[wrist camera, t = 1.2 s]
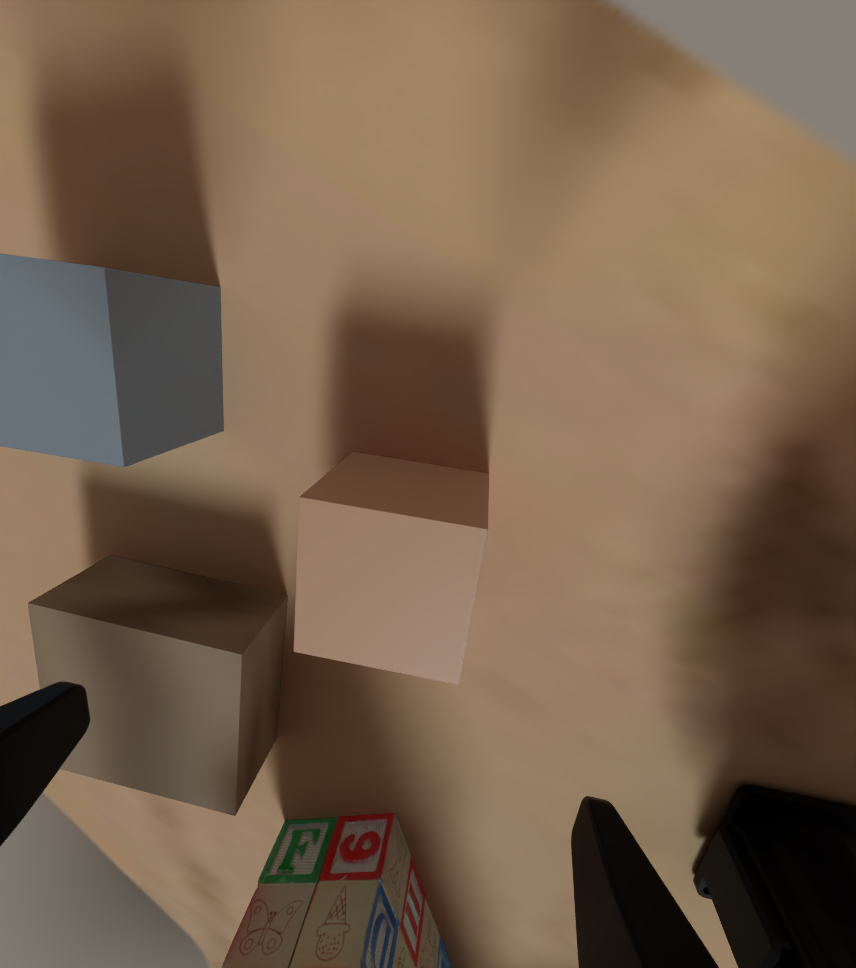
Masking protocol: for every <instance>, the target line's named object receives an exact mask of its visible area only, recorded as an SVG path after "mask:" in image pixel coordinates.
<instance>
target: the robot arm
mask: <svg viewBox="0 0 856 968" xmlns="http://www.w3.org/2000/svg"><path fill="white" fill-rule="evenodd" d="M89 724H90V712H89V706H88V700H87V693H86V689H85V688H84V687H83V686H82V685H80V684H75V683H71V682H65V681H61V682H57V683H54V684H52V685H49V686H47V687H45V688H42V689H40V690H38V691H35V692H33V693H31V694H28V695H26V696H24V697H21V698H19V699H17V700H14V701H12V702H9V703H7V704H5V705H2V706H0V846H1V845H2V843H3V842H4V841H5V840H6V839H7V838H8V836H9V835H10V834H11V833H12V831H13V830H14V829H15V828H16V827H17V825H18V824H19V823H20V822H21V820H22V819H23V818H24V816H25V815H26V814H27V812H28V811H29V810H30V808H31V807H32V806H33V804H34V803H35V802H36V800H37V799H38V798H39V796H40V795H41V793H42V792H43V791H44V789H45V788H46V787H47V785H48V784H49V782H50V781H51V780H52V778H53V777H54V776H55V774H56V773H57V772H58V770H59V769H60V767H61V766H62V765H63V763H64V762H65V761H66V759H67V758H68V756H69V755H70V754H71V752H72V751H73V750H74V748H75V747H76V745H77V744H78V743H79V741H80V740H81V739H82V737H83V736H84V734H85V733H86V731H87V729H88V727H89ZM571 850H572V867H573V883H574V900H575V916H576V932H577V948H578V961H579V968H719V967H718V965H717V964H716V962H715V961H714V959H713V958H712V956H711V955H710V953H709V952H708V950H707V948H706V947H705V945H704V944H703V942H702V941H701V939H700V938H699V936H698V935H697V933H696V932H695V930H694V929H693V927H692V926H691V924H690V922H689V921H688V919H687V918H686V916H685V915H684V913H683V912H682V910H681V909H680V907H679V906H678V904H677V903H676V901H675V899H674V898H673V896H672V895H671V893H670V892H669V890H668V889H667V887H666V886H665V884H664V883H663V881H662V880H661V878H660V877H659V875H658V873H657V872H656V870H655V869H654V867H653V866H652V864H651V863H650V861H649V860H648V858H647V857H646V855H645V854H644V852H643V850H642V849H641V847H640V846H639V844H638V843H637V841H636V840H635V838H634V837H633V835H632V834H631V832H630V831H629V829H628V828H627V826H626V824H625V823H624V821H623V820H622V818H621V817H620V815H619V814H618V812H617V811H616V809H615V808H614V806H613V805H612V804H611V803H610V802H609V801H607V800H603V799H599V798H594V797H590V796H586V797H584V798H583V800H582V802H581V805H580V808H579V811H578V814H577V817H576V820H575V823H574V826H573V829H572V836H571ZM693 881H694V884H695V887H696V890H697V892H698V894H699V895H700V896H702V897H705V898H708V899H712V901H713V903H714V906H715V909H716V911H717V914H718V916H719V919H720V921H721V924H722V927H723V929H724V932H725V934H726V937H727V940H728V942H729V945H730V947H731V950H732V953H733V955H734V958H735V960H736V963H737V965H738V968H856V807H855V806H851V805H846V804H841V803H836V802H831V801H827V800H822V799H817V798H812V797H808V796H803V795H798V794H793V793H788V792H784V791H779V790H774V789H769V788H765V787H760V786H755V785H744V786H741V787H740V788H738V789H737V791H736V792H735V794H734V796H733V798H732V800H731V802H730V804H729V807H728V809H727V811H726V813H725V815H724V817H723V819H722V821H721V823H720V825H719V827H718V829H717V831H716V833H715V835H714V837H713V839H712V841H711V843H710V845H709V848H708V850H707V852H706V854H705V856H704V858H703V860H702V862H701V864H700V866H699V868H698V870H697V872H696V874H695V876H694V879H693Z"/></svg>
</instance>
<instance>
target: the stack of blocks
mask: <svg viewBox="0 0 856 968" xmlns="http://www.w3.org/2000/svg"><path fill="white" fill-rule="evenodd" d="M222 968H452V965H451V962H450V960H449V957H448V955H447V952H446V950H445V947H444V944H443V942H442V939H441V937H440V936H439V933H438V929H437V927H436V924H435V922H434V919H433V916H432V914H431V911H430V909H429V906H428V904H427V901H426V895H425V892H424V890H423V887H422V884H421V882H420V879H419V876H418V874H417V871H416V868H415V866H414V863H413V860H412V858H411V856H410V851H409V848H408V846H407V843H406V840H405V838H404V835H403V832H402V830H401V827H400V824H399V822H398V819H397V816H396V815H395V814H394V813H388V814H372V815H358V816H341V817H338V818H322V819H305V820H287V821H285V822H284V824H283V826H282V829H281V831H280V833H279V835H278V837H277V840H276V842H275V844H274V846H273V848H272V850H271V853H270V855H269V857H268V859H267V862H266V864H265V866H264V869H263V871H262V873H261V875H260V877H259V880H258V887H257V889H256V891H255V893H254V895H253V897H252V899H251V902H250V904H249V906H248V908H247V910H246V913H245V915H244V917H243V919H242V922H241V924H240V926H239V928H238V931H237V933H236V935H235V937H234V939H233V941H232V944H231V946H230V949H229V951H228V954H227V956H226V958H225V961H224V963H223V966H222Z"/></svg>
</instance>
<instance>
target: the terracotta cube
mask: <svg viewBox="0 0 856 968" xmlns="http://www.w3.org/2000/svg"><path fill="white" fill-rule="evenodd" d="M488 497H489V473H483V472H477V471H471V470H465V469H459V468H452V467H446V466H440V465H434V464H428V463H421V462H415V461H409V460H403V459H397V458H390V457H384V456H378V455H372V454H366V453H359V452H352V453H351V454H349V455H348V456H347V457H346V458H345V459H344V460H342V461H341V462H340V463H339V464H338V465H336V466H335V467H334V468H333V469H332V470H331V471H329V472H328V473H327V474H326V475H325V476H324V477H322V478H321V479H320V480H319V481H318V482H316V483H315V484H314V485H313V486H312V487H311V488H309V489H308V490H307V491H306V492H305V493H304V494H302V495H301V496H300V497H299V518H298V546H297V574H296V602H295V630H294V652H298V653H303V654H307V655H312V656H317V657H322V658H327V659H332V660H337V661H342V662H347V663H352V664H357V665H362V666H367V667H372V668H377V669H382V670H387V671H392V672H397V673H402V674H407V675H412V676H417V677H422V678H427V679H432V680H436V681H441V682H446V683H451V684H456V685H459V681H460V675H461V670H462V665H463V659H464V654H465V649H466V643H467V638H468V633H469V627H470V622H471V617H472V611H473V606H474V601H475V595H476V590H477V585H478V579H479V574H480V569H481V563H482V558H483V553H484V547H485V542H486V537H487V531H488Z"/></svg>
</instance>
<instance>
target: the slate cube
mask: <svg viewBox="0 0 856 968" xmlns="http://www.w3.org/2000/svg"><path fill="white" fill-rule="evenodd" d="M222 431H224V421H223V378H222V334H221V291H220V287H217V286H211V285H205V284H199V283H193V282H188V281H182V280H176V279H170V278H164V277H158V276H152V275H147V274H141V273H135V272H129V271H123V270H117V269H111V268H106V267H98V266H91V265H83V264H76V263H68V262H60V261H53V260H45V259H37V258H30V257H22V256H15V255H7V254H0V446H3V447H9V448H15V449H21V450H26V451H32V452H38V453H44V454H50V455H56V456H62V457H67V458H73V459H79V460H85V461H91V462H97V463H103V464H108V465H114V466H120V467H126V466H129V465H131V464H134V463H137V462H140V461H142V460H145V459H148V458H151V457H153V456H156V455H159V454H161V453H164V452H167V451H170V450H172V449H175V448H178V447H181V446H183V445H186V444H189V443H192V442H194V441H197V440H200V439H203V438H205V437H208V436H211V435H214V434H216V433H219V432H222Z"/></svg>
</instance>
